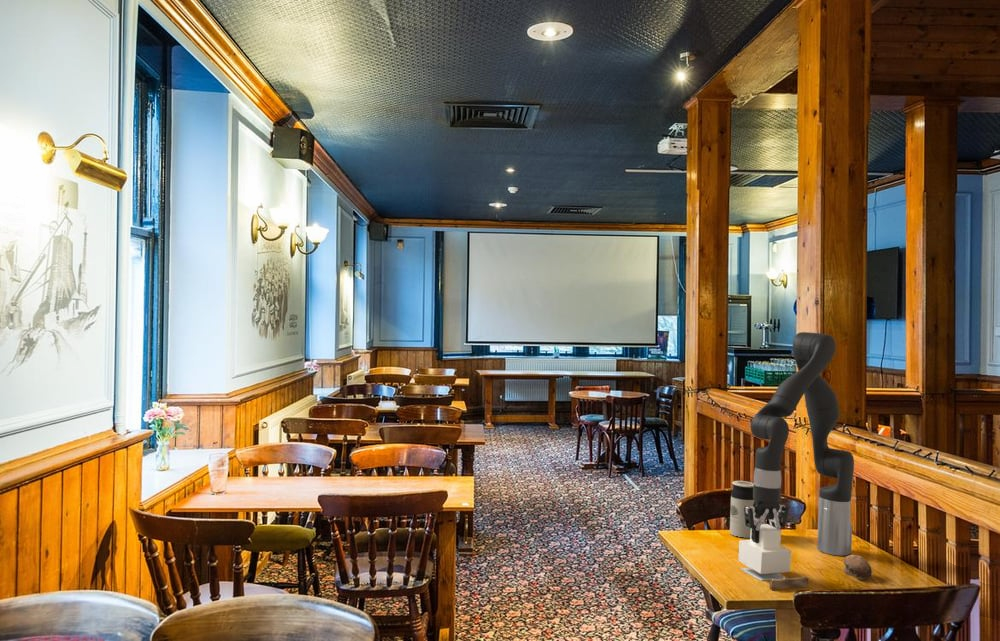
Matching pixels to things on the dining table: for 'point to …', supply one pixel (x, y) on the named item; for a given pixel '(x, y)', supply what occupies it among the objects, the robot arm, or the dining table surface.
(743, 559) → the stepped white block
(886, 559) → the dining table surface
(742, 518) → the travel mug
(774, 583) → the strip
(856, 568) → the brown stone
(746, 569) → the beer mat mark
